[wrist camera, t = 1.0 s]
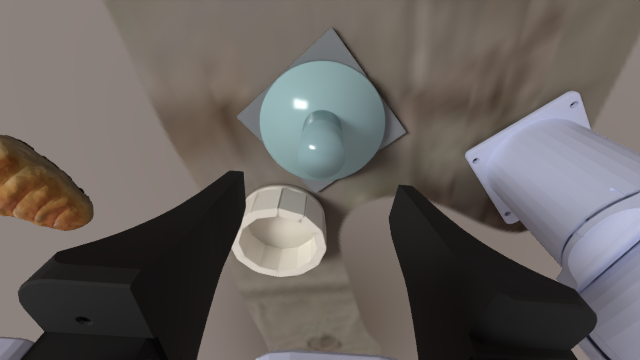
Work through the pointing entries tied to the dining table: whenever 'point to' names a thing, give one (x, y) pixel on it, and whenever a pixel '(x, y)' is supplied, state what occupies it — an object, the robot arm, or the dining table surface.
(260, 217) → the bowl
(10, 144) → the pastry
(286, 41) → the dining table surface
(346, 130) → the lid
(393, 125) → the mat
